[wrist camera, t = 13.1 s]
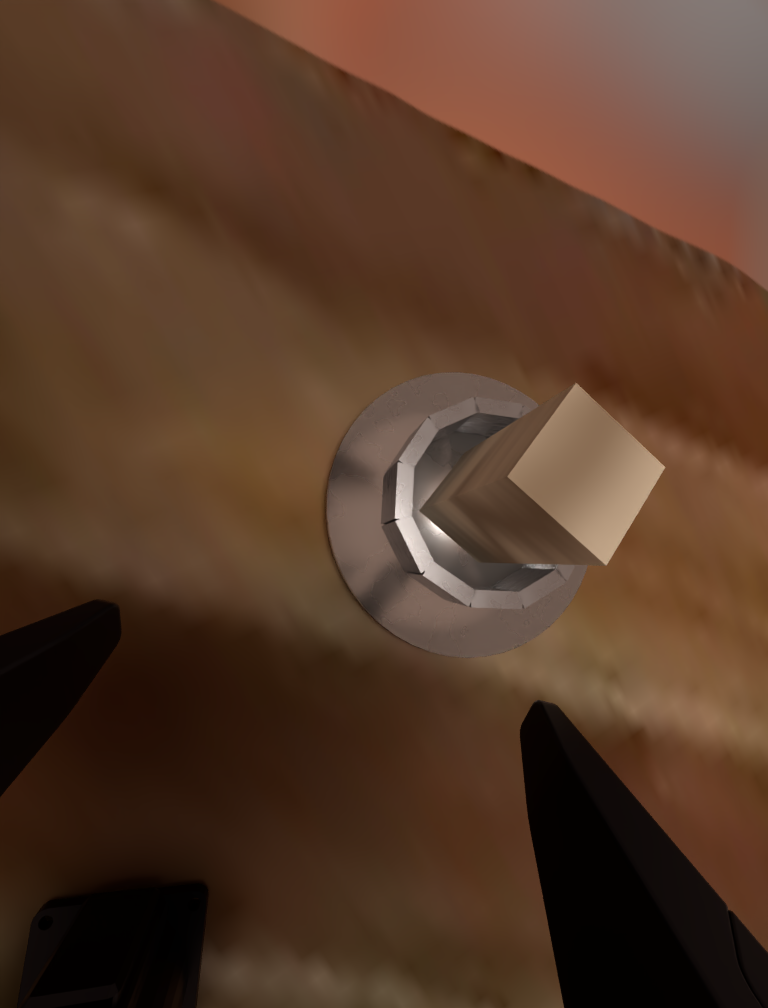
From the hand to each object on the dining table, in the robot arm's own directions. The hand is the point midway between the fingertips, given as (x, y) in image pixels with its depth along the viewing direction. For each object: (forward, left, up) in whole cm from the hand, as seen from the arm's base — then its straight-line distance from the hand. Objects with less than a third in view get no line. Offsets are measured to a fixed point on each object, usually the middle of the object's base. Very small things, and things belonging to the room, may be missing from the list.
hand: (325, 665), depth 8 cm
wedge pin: (+6, -9, -11) cm, 15 cm away
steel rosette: (+6, -8, -12) cm, 16 cm away
